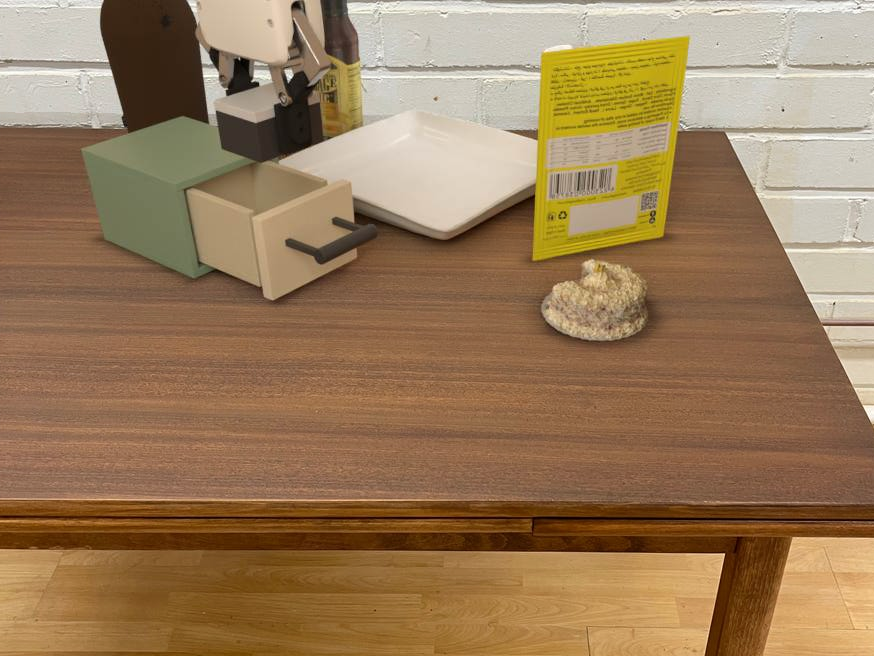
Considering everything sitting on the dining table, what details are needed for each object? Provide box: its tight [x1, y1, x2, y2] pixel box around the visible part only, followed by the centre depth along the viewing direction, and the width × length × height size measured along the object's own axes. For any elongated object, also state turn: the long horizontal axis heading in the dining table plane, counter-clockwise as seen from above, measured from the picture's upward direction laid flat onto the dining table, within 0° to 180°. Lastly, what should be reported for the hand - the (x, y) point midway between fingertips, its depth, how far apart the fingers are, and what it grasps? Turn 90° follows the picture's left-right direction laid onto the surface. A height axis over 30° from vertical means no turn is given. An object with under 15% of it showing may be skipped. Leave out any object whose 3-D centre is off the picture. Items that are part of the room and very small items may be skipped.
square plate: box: [279, 108, 538, 241], centre depth 110 cm, size 27×27×4 cm
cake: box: [540, 258, 650, 342], centre depth 87 cm, size 10×10×5 cm
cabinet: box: [80, 116, 280, 280], centre depth 98 cm, size 15×13×10 cm
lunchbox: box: [213, 81, 323, 163], centre depth 79 cm, size 7×5×4 cm
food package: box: [532, 35, 691, 262], centre depth 93 cm, size 15×1×20 cm, turn 113°
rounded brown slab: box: [99, 0, 210, 134], centre depth 110 cm, size 11×11×25 cm
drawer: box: [183, 161, 379, 301], centre depth 91 cm, size 19×11×8 cm, turn 52°
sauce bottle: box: [313, 0, 364, 144], centre depth 117 cm, size 7×6×20 cm
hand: (272, 139), depth 80 cm, fingers closed on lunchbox, 5 cm apart
